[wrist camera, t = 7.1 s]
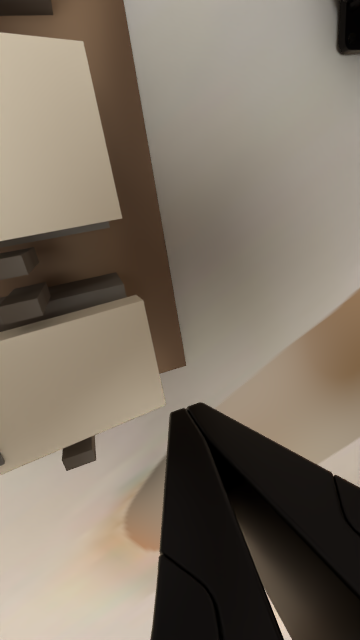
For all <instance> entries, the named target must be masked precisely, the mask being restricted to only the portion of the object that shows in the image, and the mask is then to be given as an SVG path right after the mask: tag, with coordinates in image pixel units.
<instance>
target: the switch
mask: <svg viewBox="0 0 360 640" xmlns="http://www.w3.org/2000/svg"><path fill="white" fill-rule="evenodd" d="M165 405H166V403H165V398H164V393H163V389H162V384H161V379H160V375H159V370H158V366H157V361H156V356H155V352H154V347H153V343H152V338H151V333H150V329H149V324H148V320H147V315H146V310H145V306H144V301H143V300H142V299H141V298H140V297H138V296H137V295H133V296H130V297H126V298H122V299H119V300H115V301H111V302H108V303H104V304H101V305H97V306H93V307H90V308H86V309H82V310H79V311H75V312H72V313H68V314H64V315H61V316H57V317H53V318H50V319H46V320H43V321H39V322H35V323H32V324H28V325H24V326H21V327H17V328H13V329H10V330H6V331H3V332H0V475H2V474H4V473H6V472H9V471H11V470H13V469H16V468H18V467H20V466H23V465H25V464H28V463H30V462H32V461H35V460H37V459H39V458H42V457H44V456H46V455H49V454H51V453H54V452H56V451H58V450H61V449H63V448H65V447H68V446H70V445H72V444H75V443H77V442H80V441H82V440H84V439H87V438H89V437H91V436H94V435H96V434H99V433H101V432H103V431H106V430H108V429H110V428H113V427H115V426H117V425H120V424H122V423H125V422H127V421H129V420H132V419H134V418H136V417H139V416H141V415H143V414H146V413H148V412H151V411H153V410H155V409H158V408H160V407H162V406H165Z"/></svg>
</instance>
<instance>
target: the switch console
mask: <svg viewBox="0 0 360 640" xmlns="http://www.w3.org/2000/svg"><path fill="white" fill-rule="evenodd" d="M0 32H1V33H11V34H20V35H29V36H39V37H48V38H57V39H66V40H76V41H83V43H84V47H85V52H86V56H87V61H88V65H89V70H90V74H91V79H92V83H93V88H94V93H95V97H96V102H97V106H98V111H99V115H100V120H101V124H102V129H103V133H104V138H105V142H106V147H107V151H108V156H109V160H110V165H111V169H112V174H113V179H114V183H115V188H116V192H117V197H118V201H119V206H120V210H121V215H122V219H116V220H111V221H106V222H100V223H95V224H90V225H84V226H79V227H73V228H68V229H63V230H57V231H52V232H47V233H41V234H36V235H30V236H25V237H20V238H14V239H9V240H4V241H0V332H3V331H6V330H10V329H13V328H17V327H21V326H24V325H28V324H32V323H35V322H39V321H43V320H46V319H50V318H53V317H57V316H61V315H64V314H68V313H72V312H75V311H79V310H82V309H86V308H90V307H93V306H97V305H101V304H104V303H108V302H111V301H115V300H119V299H122V298H126V297H130V296H133V295H137V296H138V297H140V298H141V299H142V300H143V301H144V306H145V310H146V315H147V320H148V324H149V329H150V333H151V338H152V343H153V347H154V352H155V356H156V361H157V366H158V370H159V374H160V373H163V372H167V371H170V370H173V369H176V368H179V367H183V366H186V362H185V356H184V350H183V344H182V338H181V333H180V327H179V321H178V315H177V309H176V304H175V298H174V292H173V286H172V280H171V275H170V269H169V263H168V257H167V251H166V246H165V240H164V234H163V228H162V222H161V217H160V211H159V205H158V199H157V193H156V188H155V182H154V176H153V170H152V164H151V159H150V153H149V147H148V141H147V135H146V130H145V124H144V118H143V112H142V106H141V101H140V95H139V89H138V83H137V77H136V72H135V66H134V60H133V54H132V49H131V43H130V37H129V31H128V25H127V20H126V14H125V8H124V2H123V0H0ZM95 460H96V450H95V435H94V436H91V437H89V438H87V439H84V440H82V441H80V442H77V443H75V444H72V445H70V446H68V447H65V448H63V454H62V461H63V464H64V466H65V468H66V471H68V470H71V469H73V468H76V467H79V466H82V465H84V464H87V463H90V462H93V461H95Z"/></svg>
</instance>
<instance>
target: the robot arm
mask: <svg viewBox="0 0 360 640" xmlns="http://www.w3.org/2000/svg"><path fill="white" fill-rule="evenodd" d="M348 38H349V39H350V43H349V40H348ZM339 48H340V51H341V52H342V53H343V54H355V53H360V0H341V3H340V26H339ZM165 473H166V474H165V486H164V500H163V513H162V527H161V540H160V556H159V562H158V575H157V587H156V597H155V606H154V616H153V626H152V632H151V639H150V640H284V639H283V636H282V633H281V631H280V628H279V626H278V623H277V620H276V618H275V615H274V613H273V610H272V608H271V605H270V602H269V600H268V597H267V595H266V592H267V594H268V596H269V598H270V600H271V601H272V603H273V605H274V607H275V609H276V611H277V612H278V614H279V616H280V618H281V620H282V622H283V624H284V625H285V627H286V629H287V631H288V633H289V635H290V637H291V638H292V640H360V487H358V486H356V485H354V484H352V483H350V482H348V481H346V480H345V479H343V478H341V477H339V476H337V475H334V476H333V474H332V473H331V472H330V471H328V470H326V469H324V468H322V467H320V466H318V465H317V464H315V463H313V462H311V461H309V460H307V459H305V458H304V457H302V456H300V455H298V454H296V453H295V452H293V451H291V450H289V449H287V448H285V447H283V446H282V445H280V444H278V443H276V442H274V441H272V440H271V439H269V438H267V437H265V436H263V435H261V434H259V433H258V432H256V431H254V430H252V429H250V428H248V427H247V426H244V425H243V424H241V423H239V422H237V421H236V420H233V419H232V418H230V417H228V416H226V415H224V414H223V413H221V412H219V411H217V410H215V409H213V408H212V407H210V406H208V405H206V404H204V403H201V402H200V403H197V404H194V405H191V406H188V407H187V409H185V408H182V409H179V410H176V411H174V412H171V413H170V419H169V432H168V446H167V459H166V472H165ZM264 588H265V590H266V592H265V590H264Z"/></svg>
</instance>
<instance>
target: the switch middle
mask: <svg viewBox="0 0 360 640" xmlns="http://www.w3.org/2000/svg"><path fill="white" fill-rule="evenodd" d="M116 219H122V215H121V210H120V206H119V201H118V197H117V192H116V188H115V183H114V179H113V174H112V169H111V165H110V160H109V156H108V151H107V147H106V142H105V138H104V133H103V129H102V124H101V120H100V115H99V111H98V106H97V102H96V97H95V93H94V88H93V83H92V79H91V74H90V70H89V65H88V61H87V56H86V52H85V47H84V43H83V41H76V40H66V39H57V38H48V37H39V36H29V35H20V34H11V33H1V32H0V241H4V240H9V239H14V238H20V237H25V236H30V235H36V234H41V233H47V232H52V231H57V230H63V229H68V228H73V227H79V226H84V225H90V224H95V223H100V222H106V221H111V220H116Z"/></svg>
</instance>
